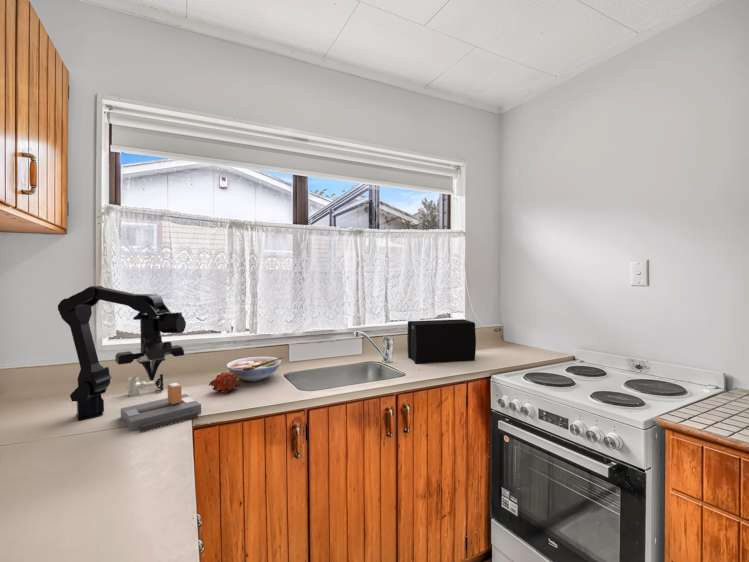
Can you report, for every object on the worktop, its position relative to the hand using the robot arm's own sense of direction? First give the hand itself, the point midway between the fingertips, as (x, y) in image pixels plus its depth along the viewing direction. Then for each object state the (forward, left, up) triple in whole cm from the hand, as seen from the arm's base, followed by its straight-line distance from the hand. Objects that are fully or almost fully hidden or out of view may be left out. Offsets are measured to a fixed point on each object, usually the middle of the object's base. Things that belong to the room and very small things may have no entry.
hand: (151, 380), depth 122 cm
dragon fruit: (+27, +7, -12) cm, 31 cm away
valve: (+4, +28, -12) cm, 31 cm away
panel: (+2, -2, -12) cm, 12 cm away
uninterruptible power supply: (+131, -23, -12) cm, 133 cm away
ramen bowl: (+43, +15, -12) cm, 47 cm away
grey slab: (+2, -2, -12) cm, 12 cm away
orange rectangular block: (+6, -2, -8) cm, 10 cm away
